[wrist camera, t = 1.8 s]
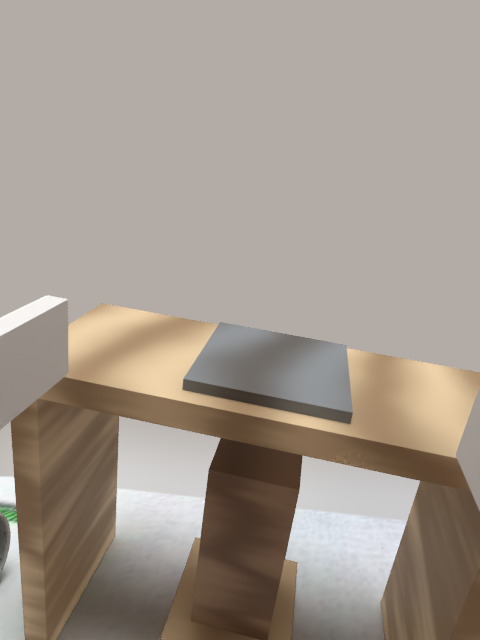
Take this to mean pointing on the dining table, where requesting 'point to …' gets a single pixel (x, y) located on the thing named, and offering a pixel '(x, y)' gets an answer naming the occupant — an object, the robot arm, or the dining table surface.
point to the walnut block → (244, 536)
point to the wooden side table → (252, 428)
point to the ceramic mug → (4, 540)
